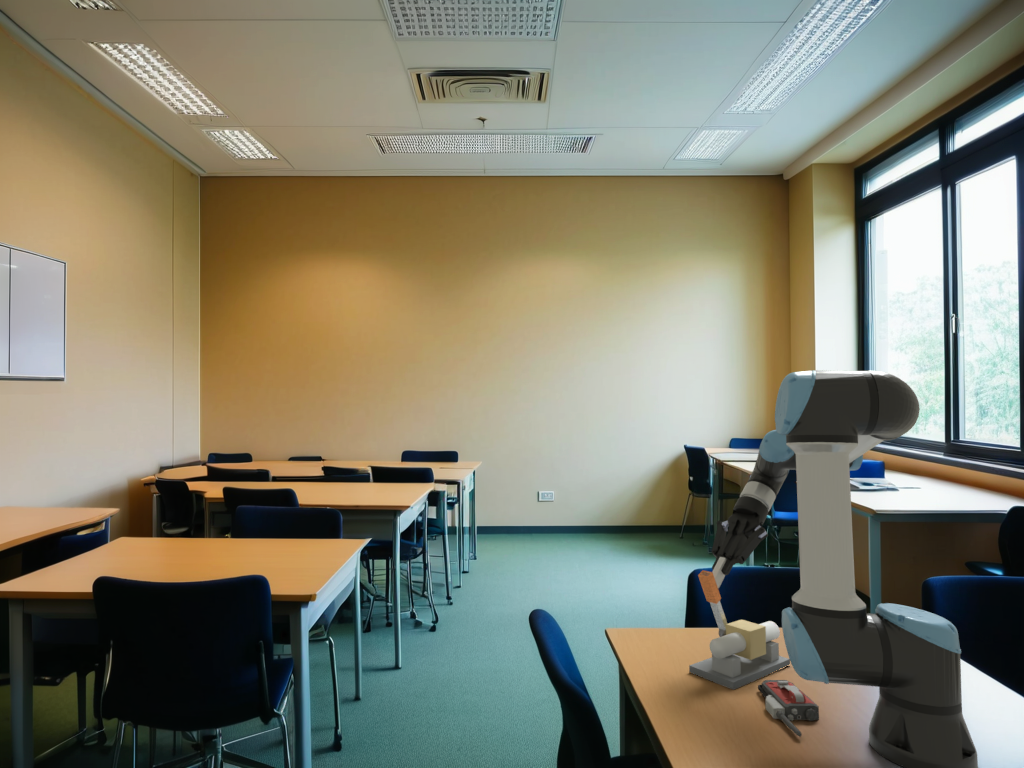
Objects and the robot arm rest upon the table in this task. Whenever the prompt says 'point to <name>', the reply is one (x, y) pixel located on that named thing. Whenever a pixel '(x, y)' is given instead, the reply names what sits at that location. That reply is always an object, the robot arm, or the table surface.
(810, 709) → the walkie-talkie
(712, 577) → the valve lever
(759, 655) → the valve rig
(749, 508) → the robot arm
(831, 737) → the table surface
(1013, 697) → the table surface
